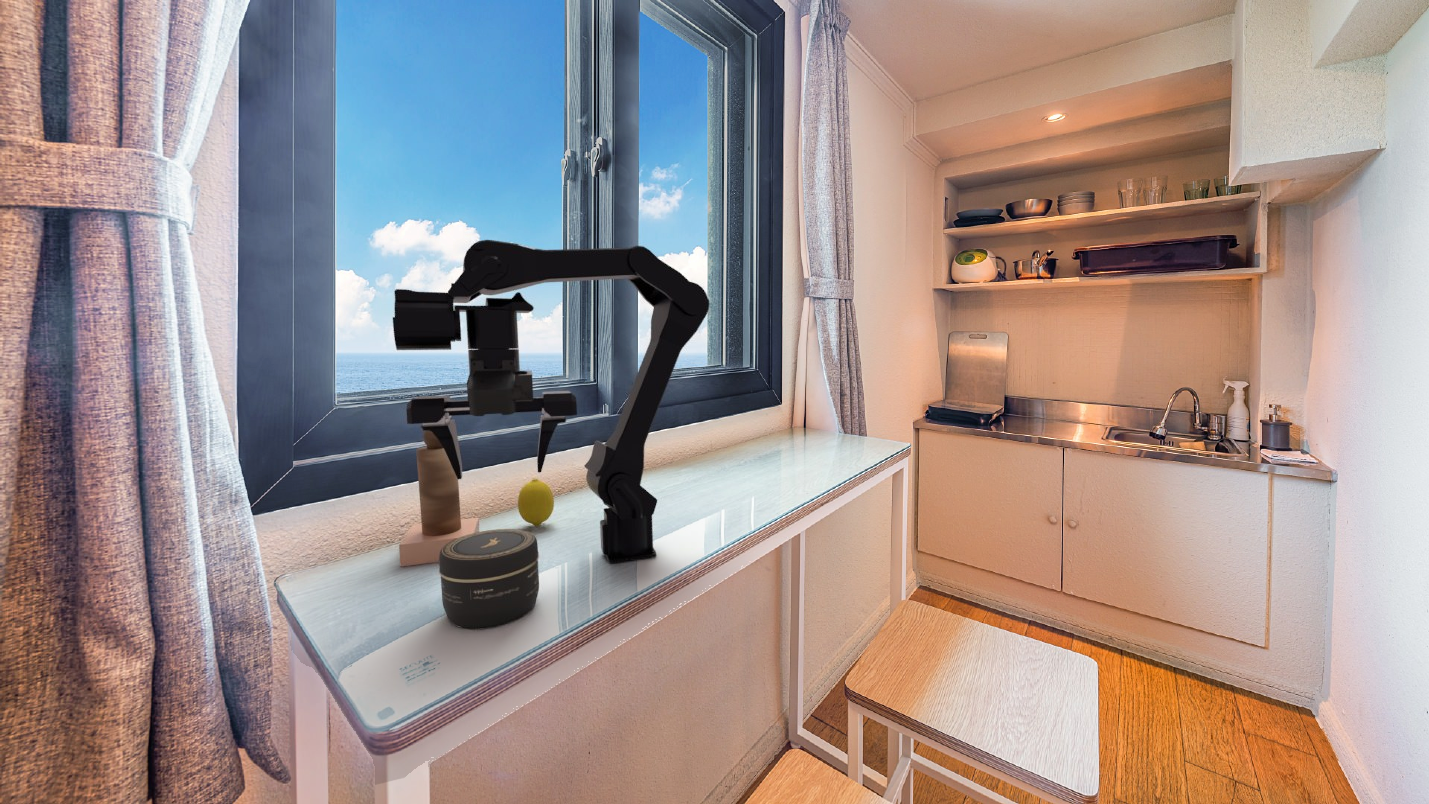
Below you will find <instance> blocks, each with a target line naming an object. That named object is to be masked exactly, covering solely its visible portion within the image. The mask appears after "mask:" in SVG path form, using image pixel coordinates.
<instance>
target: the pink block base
mask: <svg viewBox="0 0 1429 804" xmlns="http://www.w3.org/2000/svg"><path fill="white" fill-rule="evenodd" d="M477 532H480V518H479V517H469V518H461V529H460V530H458V531H456V532H454V533H450V534H446V535H440V536H426V535H423V534H422V523H417V524H412V525H411V527H410V529H409V530H408V531H407V532H406V533H405V535H404V536H403V539H402V540H401V541H400V543H399V544H398V549H399V550H398V551H399V565H400V568H401V567H409V566H416V565H423V564H430V563H431V564H432V563H439V555H440V551H441V549H442V548H443V547H444V546H445V545H446V544H447V543H449V542H451V541H453V540H455V539H457V538H460V537H462V536H465V535H469V534H473V533H477Z"/></svg>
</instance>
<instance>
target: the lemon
mask: <svg viewBox="0 0 1429 804" xmlns="http://www.w3.org/2000/svg"><path fill="white" fill-rule="evenodd" d="M554 499H555V498H554V494H553V491H552V488H551V487H550V486H549V485H548V484H547V483H546V482H544V481H542V480H539V479H538V478H533V479H532V480H531V481H529V482H527V483H526V484H524V485H523V486H522V487H521V489H520V491H519V494H518V499H517V507H518V508H517V509H518V513H519V515H520V517H521V518H522V519H523V520H524V521H525V522H527V523H528V524H532V525H533V526H534V527H536V528H538V527H540V526H541V525H542V524H543V523H544V522H546V521H547V520H548V519H550V517H551V515H552V513H553V511H554V506H555V500H554Z"/></svg>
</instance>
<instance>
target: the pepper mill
mask: <svg viewBox="0 0 1429 804" xmlns="http://www.w3.org/2000/svg"><path fill="white" fill-rule="evenodd" d="M422 440H423V443H424V444H425V446H422V447H419V448H416V450H415V451H416V464H417V477H418V478H417V479H418V491H419V505H420V516H421V517H420V518H421V520H420V521H421V524H422V534H423V535H426V536H440V535H446V534H450V533H454V532H456V531H458V530H460V529H461V519H462V517H461V516H462V515H461V501H460V486H459V479H457V476H456V474H455V472H454V470H453V468H452V465H451V463H450V461H449V459H448V456H447V454H446V452H445V450H444V448H443V446H442V445H441V443H440V442H439V440H438V439H437V437H436V436H435V435H434V434H433V433H432V432H431V431H429V430H428V431H423V433H422Z"/></svg>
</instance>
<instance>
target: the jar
mask: <svg viewBox="0 0 1429 804" xmlns="http://www.w3.org/2000/svg"><path fill="white" fill-rule="evenodd" d="M538 547H539V546H538V539H537V536H536V535H535V534H533V533H532V532H530V531H527V530H524V529H516V528H499V529H498V528H497V529H490V530H483V531H479V532H477V533H473V534H469V535H465V536H462V537H460V538H457V539H455V540H453V541H451V542H449V543H447V544H446V545H445V546H444V547H443V548H442V549H441V551H440V555H439V562H438V563H439V568H438V571H439V576H440V585H441V598H442V599H441V601H442V606H443V609H444V612H445V616H446V617H447V619H448V621H449V622H451V623H452V624H453V625H454V626H456V627H458V628H462V629H467V630H485V629H487V630H488V629H492V628H496V627H501V626H505V625H507V624H510V623H513V622H515V621H517V620H519V619H521V618H522V617H524V616H526V615H527V614H528V613H530V611H531V610H532V609H533V607H534V606H535V604H536V602H537V600H538V596H539V595H538V594H539V590H540V576H539V574H540V573H539V571H540V570H539V558H540V554H539V548H538Z"/></svg>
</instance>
